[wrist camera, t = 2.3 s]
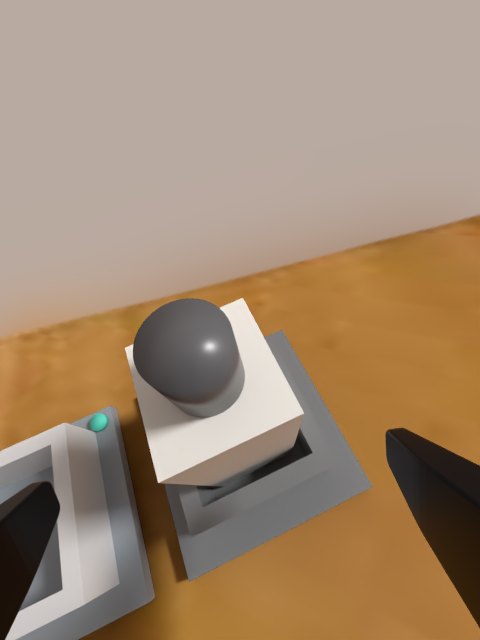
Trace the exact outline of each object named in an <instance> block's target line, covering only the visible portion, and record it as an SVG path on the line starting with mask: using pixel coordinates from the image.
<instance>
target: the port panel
mask: <svg viewBox="0 0 480 640" xmlns="http://www.w3.org/2000/svg"><path fill="white" fill-rule="evenodd" d="M40 481H49V482H50V483H51V484H52V486H53V488H54V491H55V493H56V495H57V498H58V500H59V503H60V513H59V516H58V519H57V521H56V524H55V527H54V529H53V532H52V534H51V537H50V540H49V542H48V545H47V547H46V550H45V552H44V555H43V558H42V560H41V563H40V565H39V568H38V570H37V573H36V575H35V578H34V580H33V582H32V585H31V587H30V589H29V591H28V593H27V595H26V598H25V600H24V602H23V604H22V606H21V608H20V610H19V612H18V614H17V616H16V618H15V621H14V623H13V625H12V627H11V629H10V631H9V633H8V635H7V637H6V639H5V640H78V639H80V638H82V637H84V636H86V635H88V634H90V633H92V632H94V631H95V630H97V629H99V628H101V627H103V626H105V625H107V624H109V623H111V622H113V621H115V620H117V619H119V618H120V617H122V616H124V615H126V614H128V613H130V612H132V611H134V610H136V609H138V608H140V607H142V606H144V605H146V604H147V603H149V602H150V601H152V600H153V599H154V598H155V593H154V589H153V584H152V579H151V574H150V569H149V564H148V559H147V554H146V549H145V544H144V539H143V535H142V530H141V525H140V520H139V515H138V510H137V505H136V500H135V495H134V490H133V486H132V481H131V476H130V471H129V466H128V461H127V456H126V451H125V446H124V441H123V437H122V432H121V427H120V422H119V417H118V412H117V408H115V407H113V406H109V407H107V408H104V409H102V410H100V411H98V412H95V413H93V414H91V415H89V416H86V417H84V418H82V419H80V420H77V421H75V422H73V423H70V424H68V423H63V424H60V425H58V426H56V427H54V428H51V429H49V430H47V431H45V432H42V433H40V434H38V435H36V436H33V437H31V438H29V439H27V440H24V441H22V442H20V443H17V444H15V445H13V446H11V447H8V448H6V449H4V450H2V451H0V504H1V503H3V502H4V501H6V500H7V499H9V498H10V497H12V496H13V495H15V494H16V493H18V492H19V491H21V490H22V489H24V488H25V487H27V486H28V485H30V484H31V483H34V482H40Z"/></svg>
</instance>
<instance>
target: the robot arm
mask: <svg viewBox="0 0 480 640" xmlns="http://www.w3.org/2000/svg"><path fill="white" fill-rule="evenodd" d="M386 455H387V461H388V464H389V467H390V469H391V471H392V473H393V475H394V477H395V479H396V481H397V483H398V485H399V487H400V489H401V491H402V493H403V496H404V498H405V500H406V502H407V504H408V506H409V508H410V510H411V512H412V514H413V516H414V518H415V520H416V522H417V524H418V526H419V528H420V530H421V532H422V533H423V535H424V537H425V538H426V540H427V542H428V543H429V545H430V547H431V548H432V550H433V552H434V553H435V555H436V557H437V558H438V560H439V562H440V563H441V565H442V567H443V568H444V570H445V571H446V573H447V575H448V576H449V578H450V580H451V581H452V583H453V585H454V586H455V588H456V590H457V591H458V593H459V595H460V596H461V598H462V600H463V601H464V603H465V604H466V606H467V608H468V609H469V611H470V613H471V614H472V616H473V618H474V619H475V621H476V623H477V624H478V626H479V628H480V466H479V465H477V464H475V463H473V462H471V461H469V460H467V459H465V458H463V457H461V456H459V455H457V454H455V453H453V452H451V451H449V450H447V449H445V448H443V447H441V446H439V445H437V444H435V443H433V442H431V441H429V440H427V439H425V438H423V437H421V436H419V435H417V434H415V433H413V432H411V431H409V430H407V429H405V428H395V429H389V430H387V431H386ZM59 513H60V503H59V500H58V498H57V495H56V493H55V491H54V488H53V486H52V484H51V483H50V482H49V481H40V482H34V483H31V484H30V485H28V486H27V487H25V488H24V489H22V490H21V491H19V492H18V493H16V494H15V495H13V496H12V497H10V498H9V499H7V500H6V501H4V502H3V503H1V504H0V640H5V639H6V637H7V635H8V633H9V631H10V629H11V627H12V625H13V623H14V621H15V618H16V616H17V614H18V612H19V610H20V608H21V606H22V604H23V602H24V600H25V598H26V595H27V593H28V591H29V589H30V587H31V585H32V582H33V580H34V578H35V575H36V573H37V570H38V568H39V565H40V563H41V560H42V558H43V555H44V552H45V550H46V547H47V545H48V542H49V540H50V537H51V534H52V532H53V529H54V527H55V524H56V521H57V519H58V516H59Z"/></svg>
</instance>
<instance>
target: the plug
mask: <svg viewBox="0 0 480 640" xmlns="http://www.w3.org/2000/svg"><path fill="white" fill-rule="evenodd" d="M125 350H126V354H127V358H128V362H129V366H130V370H131V374H132V378H133V383H134V387H135V391H136V395H137V399H138V403H139V407H140V411H141V415H142V419H143V423H144V427H145V432H146V436H147V440H148V444H149V448H150V452H151V456H152V460H153V464H154V468H155V472H156V476H157V481H158V483H166V484H185V485H203V486H222V487H224V486H226V485H228V484H231V483H233V482H235V481H237V480H239V479H241V478H243V477H245V476H247V475H249V474H251V473H253V472H255V471H257V470H259V469H261V468H263V467H265V466H267V465H269V464H271V463H273V462H275V461H277V460H279V459H281V458H284V457H286V456H288V455H290V454H292V450H293V447H294V444H295V441H296V438H297V435H298V431H299V428H300V425H301V422H302V419H303V416H304V412H303V410H302V408H301V406H300V404H299V402H298V401H297V399H296V397H295V395H294V393H293V391H292V389H291V387H290V386H289V384H288V382H287V380H286V378H285V376H284V374H283V372H282V371H281V369H280V367H279V365H278V363H277V361H276V359H275V357H274V356H273V354H272V352H271V350H270V348H269V346H268V344H267V342H266V340H265V339H264V337H263V335H262V333H261V331H260V329H259V327H258V325H257V324H256V322H255V320H254V318H253V316H252V314H251V312H250V310H249V309H248V307H247V305H246V303H245V301H244V299H243V298H242V299H239V300H237V301H235V302H232V303H230V304H228V305H225V306H223V307H221V308H218V307H217V306H216V305H214V304H212V303H210V302H207V301H205V300H200V299H180V300H176V301H173V302H170V303H168V304H165V305H163V306H162V307H160V308H158V309H157V310H156V311H154V312H153V313H152V314H151V315H150V316H149V317H148V318H147V319H146V320H145V321H144V322H143V324H142V325H141V327H140V328H139V330H138V332H137V334H136V337H135V340H134V344H133V345H131V346H129V347H126V348H125Z"/></svg>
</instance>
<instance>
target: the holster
mask: <svg viewBox="0 0 480 640" xmlns="http://www.w3.org/2000/svg"><path fill="white" fill-rule="evenodd" d="M264 339H265V340H266V342H267V344H268V346H269V348H270V350H271V352H272V354H273V356H274V357H275V359H276V361H277V363H278V365H279V367H280V369H281V371H282V372H283V374H284V376H285V378H286V380H287V382H288V384H289V386H290V387H291V389H292V391H293V393H294V395H295V397H296V399H297V401H298V402H299V404H300V406H301V408H302V410H303V412H304V416H303V419H302V422H301V425H300V428H299V431H298V435H297V438H296V441H295V444H294V447H293V450H292V454H290V455H288V456H286V457H284V458H281V459H279V460H277V461H275V462H273V463H271V464H269V465H267V466H265V467H263V468H261V469H259V470H257V471H255V472H253V473H251V474H249V475H247V476H245V477H243V478H241V479H239V480H237V481H235V482H233V483H231V484H228V485H226V486H224V487H222V486H203V485H185V484H166V483H164V485H165V489H166V493H167V497H168V501H169V505H170V509H171V513H172V517H173V521H174V525H175V529H176V533H177V537H178V540H179V544H180V548H181V552H182V556H183V560H184V564H185V568H186V572H187V576H188V580H189V582H190V581H192V580H194V579H196V578H198V577H199V576H201V575H203V574H205V573H207V572H209V571H211V570H213V569H215V568H217V567H219V566H221V565H223V564H225V563H226V562H228V561H230V560H232V559H234V558H236V557H238V556H240V555H242V554H244V553H246V552H248V551H250V550H251V549H253V548H255V547H257V546H259V545H261V544H263V543H265V542H267V541H269V540H271V539H273V538H275V537H277V536H278V535H280V534H282V533H284V532H286V531H288V530H290V529H292V528H294V527H296V526H298V525H300V524H302V523H303V522H305V521H307V520H309V519H311V518H313V517H315V516H317V515H319V514H321V513H323V512H325V511H327V510H329V509H330V508H332V507H334V506H336V505H338V504H340V503H342V502H344V501H346V500H348V499H350V498H352V497H354V496H355V495H357V494H359V493H361V492H363V491H365V490H367V489H369V488H371V487H373V486H372V485H371V483H370V481H369V479H368V478H367V476H366V474H365V473H364V471H363V469H362V467H361V466H360V464H359V462H358V460H357V459H356V457H355V455H354V454H353V452H352V450H351V448H350V447H349V445H348V443H347V441H346V440H345V438H344V436H343V435H342V433H341V431H340V429H339V428H338V426H337V424H336V422H335V421H334V419H333V417H332V416H331V414H330V412H329V410H328V409H327V407H326V405H325V403H324V402H323V400H322V398H321V396H320V395H319V393H318V391H317V390H316V388H315V386H314V384H313V383H312V381H311V379H310V377H309V376H308V374H307V372H306V371H305V369H304V367H303V365H302V364H301V362H300V360H299V358H298V357H297V355H296V353H295V352H294V350H293V348H292V346H291V345H290V343H289V341H288V339H287V338H286V336H285V334H284V333H283V331H282V330H281V331H278V332H276V333H274V334H272V335H269V336H267V337H264Z"/></svg>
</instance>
